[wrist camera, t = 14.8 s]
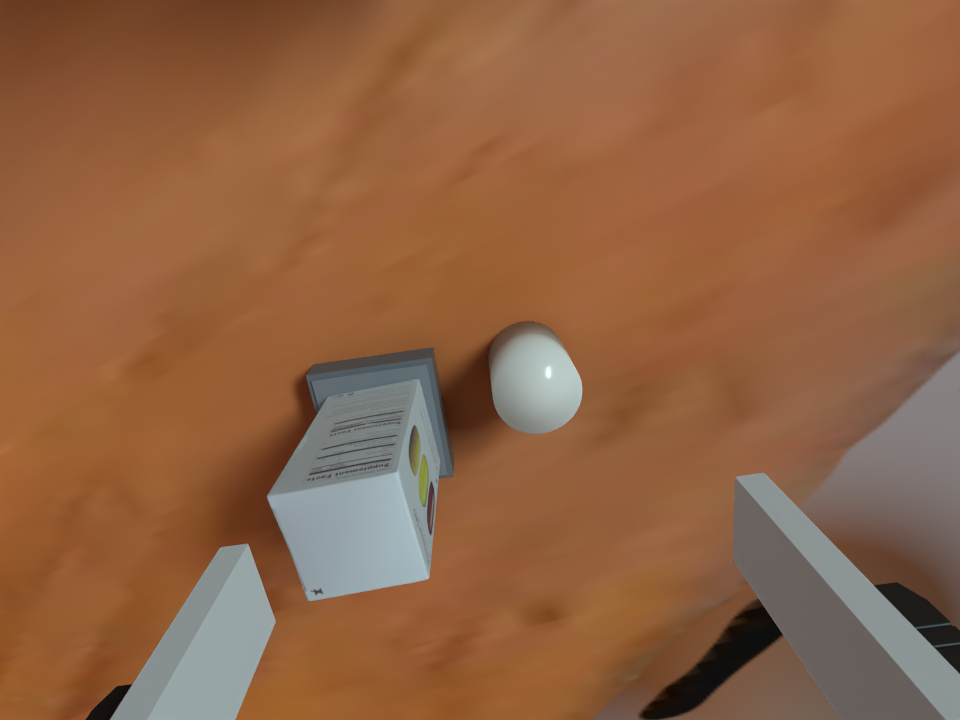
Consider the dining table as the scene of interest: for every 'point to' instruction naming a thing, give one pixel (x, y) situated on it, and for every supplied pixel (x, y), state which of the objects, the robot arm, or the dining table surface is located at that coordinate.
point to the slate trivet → (383, 372)
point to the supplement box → (361, 493)
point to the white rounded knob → (533, 378)
